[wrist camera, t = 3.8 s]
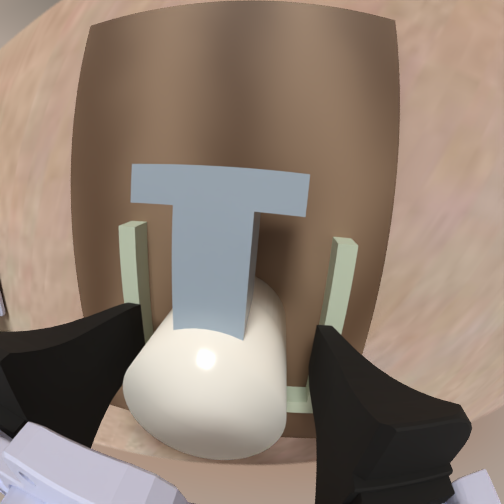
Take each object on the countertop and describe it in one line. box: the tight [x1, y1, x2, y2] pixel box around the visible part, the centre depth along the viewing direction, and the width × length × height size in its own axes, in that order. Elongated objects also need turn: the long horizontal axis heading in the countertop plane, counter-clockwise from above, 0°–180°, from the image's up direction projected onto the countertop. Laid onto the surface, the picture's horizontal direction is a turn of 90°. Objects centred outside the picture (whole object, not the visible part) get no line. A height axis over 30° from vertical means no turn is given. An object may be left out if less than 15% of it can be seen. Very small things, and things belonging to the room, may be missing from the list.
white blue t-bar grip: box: [123, 164, 310, 460], centre depth 10 cm, size 9×5×6 cm, turn 175°
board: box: [71, 1, 400, 438], centre depth 13 cm, size 15×23×1 cm, turn 176°
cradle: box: [119, 221, 358, 413], centre depth 13 cm, size 10×9×1 cm
